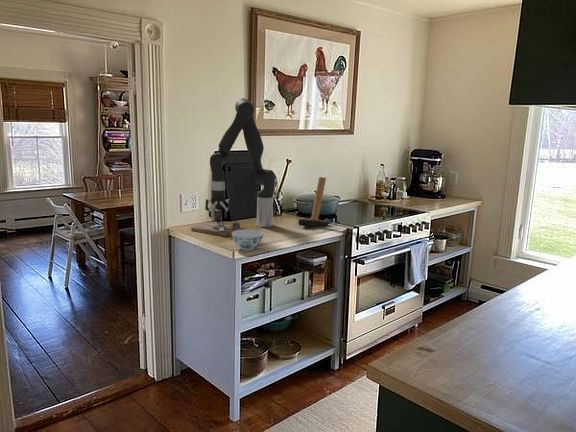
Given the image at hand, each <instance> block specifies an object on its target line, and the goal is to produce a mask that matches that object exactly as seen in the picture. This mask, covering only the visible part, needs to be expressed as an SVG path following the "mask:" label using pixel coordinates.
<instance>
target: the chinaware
mask: <svg viewBox="0 0 576 432" xmlns="http://www.w3.org/2000/svg"><path fill="white" fill-rule="evenodd" d="M231 236H232V239H233V242H234V243H235V244H236V246H238V248H239V247H240V250H242V251H246V252H247V251H248V252H249V251H253V250H255V248H256V247H258V246H259V244H260V243H261V242H262V240H263V237H264V232H263V231H261V230H258V229H245V230H237V231H234V232H232V235H231Z"/></svg>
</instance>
